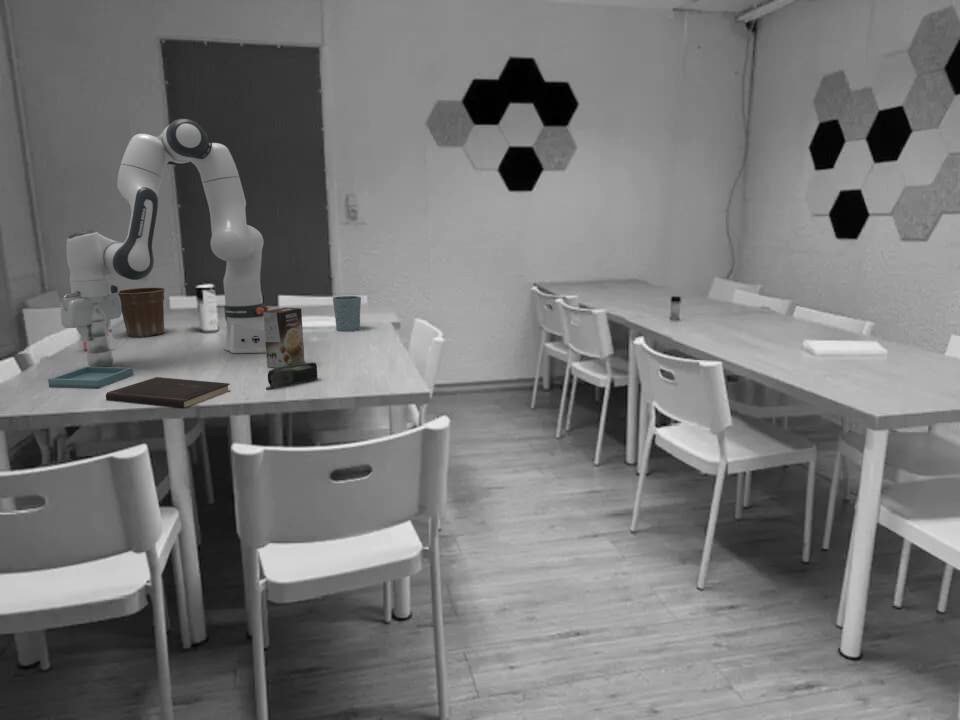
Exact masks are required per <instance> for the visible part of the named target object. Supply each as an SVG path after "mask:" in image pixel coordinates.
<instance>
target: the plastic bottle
mask: <svg viewBox="0 0 960 720" xmlns="http://www.w3.org/2000/svg"><path fill="white" fill-rule="evenodd" d="M92 305H93V306H94V308H93V310H94V311H93V314H92V324H90V325H87V329H86V331H87V333H88V334H90V335H91V337H90V338H91V340H90V341H87V350H86V361H87V364H88V365H87V366H88V367H111V366H112V365H113V363H114V355H113V352H112V350H110V347H109V343H108V339H107V320H106V319H107V318H106V314H105V313H104V311H103V310H102V309H101V308H100V307H99V306H98V305H99V303H94V304H92Z"/></svg>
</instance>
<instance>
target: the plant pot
mask: <svg viewBox="0 0 960 720" xmlns="http://www.w3.org/2000/svg"><path fill="white" fill-rule="evenodd" d="M165 291H166V289H165V287H138V288H130V289H129V288H128V289H122V290H121V289H120V292H119V293H118V295H119V297H120V301H121V309H122V313H121V316H122V318H123V322H124V325H125V331H126V334H127V336H128V337H132V338H147V337H153V336H158V335H162V334H164V333H165V318H164V317H165V314H164V311H165V310H164V309H165V307H164V300H165Z"/></svg>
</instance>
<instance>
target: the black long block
mask: <svg viewBox="0 0 960 720" xmlns="http://www.w3.org/2000/svg"><path fill="white" fill-rule="evenodd" d="M317 379H318V366H317V363H316V362H308V363H307V362H304V363H301V364H297V365H290V366H282V367H277V368H273V369H270V370H269V371H268V372H267V381H268V385H269V386H266V387H265V389H266V390H272V389H278V388H283V387H289V386H294V385H299V384H303V383H309V382H314V381H316V380H317Z"/></svg>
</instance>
